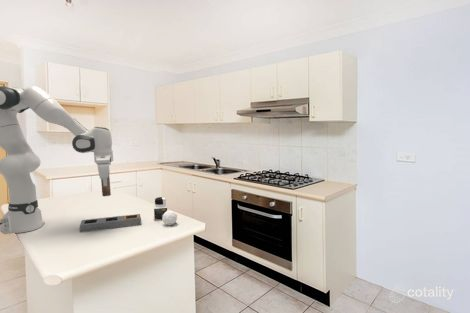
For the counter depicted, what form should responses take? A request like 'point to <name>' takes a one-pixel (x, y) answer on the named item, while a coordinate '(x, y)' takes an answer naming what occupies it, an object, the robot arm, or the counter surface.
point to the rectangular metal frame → (110, 222)
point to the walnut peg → (106, 188)
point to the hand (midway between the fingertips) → (105, 184)
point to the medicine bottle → (159, 208)
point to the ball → (169, 217)
